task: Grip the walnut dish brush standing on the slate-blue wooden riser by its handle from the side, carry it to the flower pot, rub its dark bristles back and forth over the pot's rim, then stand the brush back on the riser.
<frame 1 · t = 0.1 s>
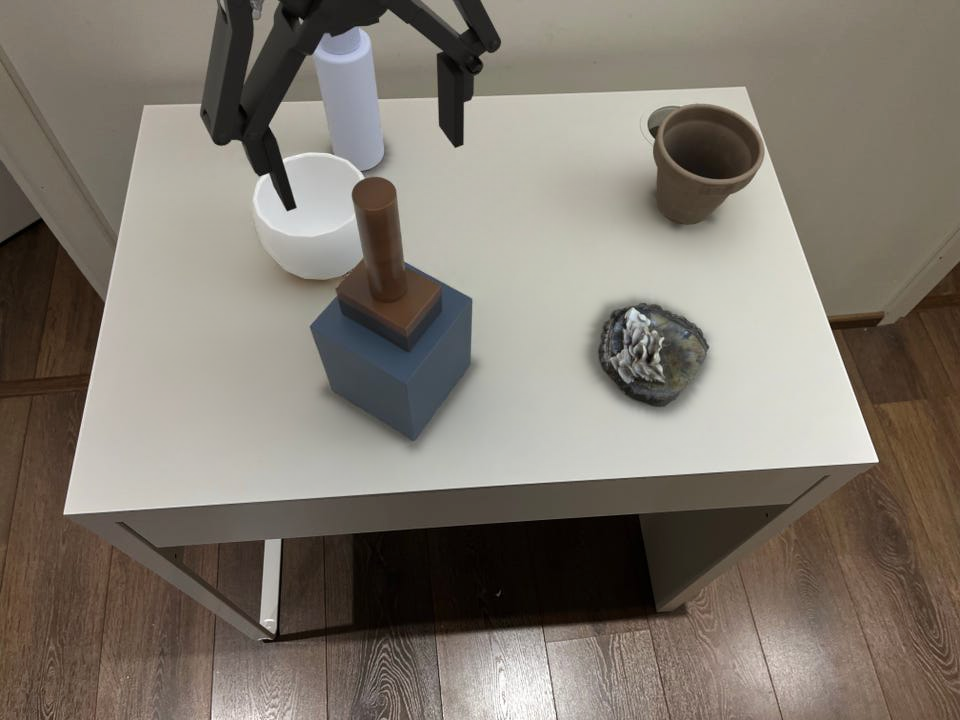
hand: (370, 165, 52), 23 cm above the table, tool pointing down, fingers open, 13 cm apart
flower pot: (684, 206, 82), on the table
cup: (326, 254, 78), on the table
riser: (402, 377, 70), on the table
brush: (392, 312, 60), point 12 cm above the table, touching riser
grey rough lump: (651, 355, 72), on the table
spray bottle: (359, 155, 85), on the table
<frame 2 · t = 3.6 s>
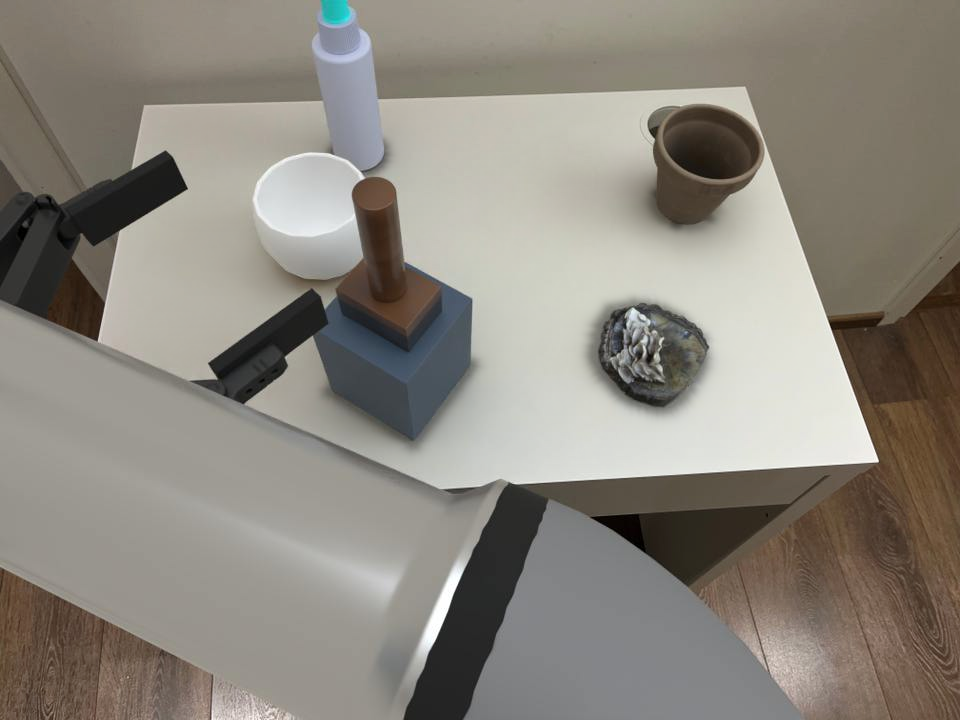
hand: (245, 234, 40), 30 cm above the table, tool horizontal, fingers open, 13 cm apart
nothing on the table moved.
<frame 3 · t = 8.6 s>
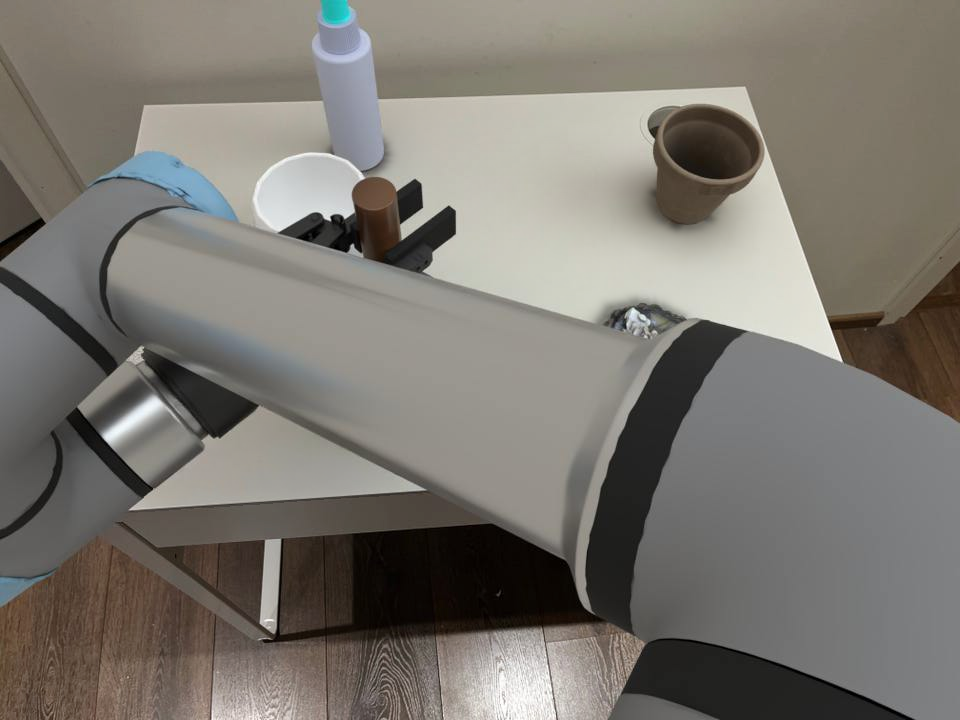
hand: (435, 206, 54), 21 cm above the table, tool horizontal, fingers closed on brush, 3 cm apart
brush: (392, 312, 60), point 12 cm above the table, touching gripper, riser
everything else where it was.
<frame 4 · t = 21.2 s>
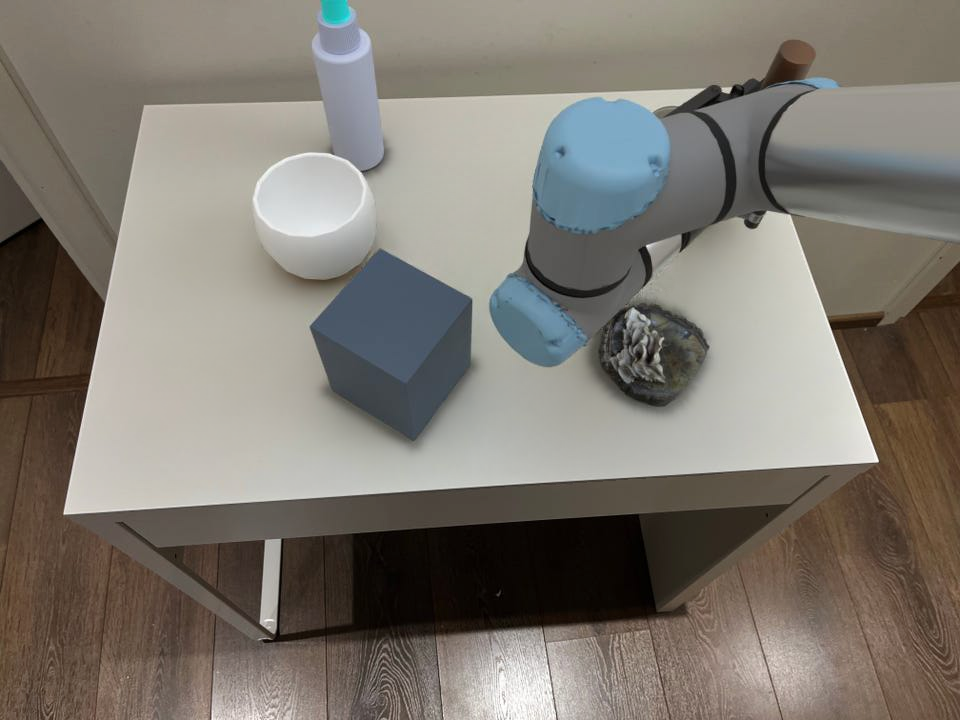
hand: (799, 84, 65), 19 cm above the table, tool horizontal, fingers closed on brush, 3 cm apart
flower pot: (685, 203, 82), on the table, touching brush
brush: (734, 175, 70), point 11 cm above the table, touching flower pot, gripper
everything else where it was.
when the fingers open (20 cm above the table, at t = 33.1 s): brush stays where it is, resting on riser.
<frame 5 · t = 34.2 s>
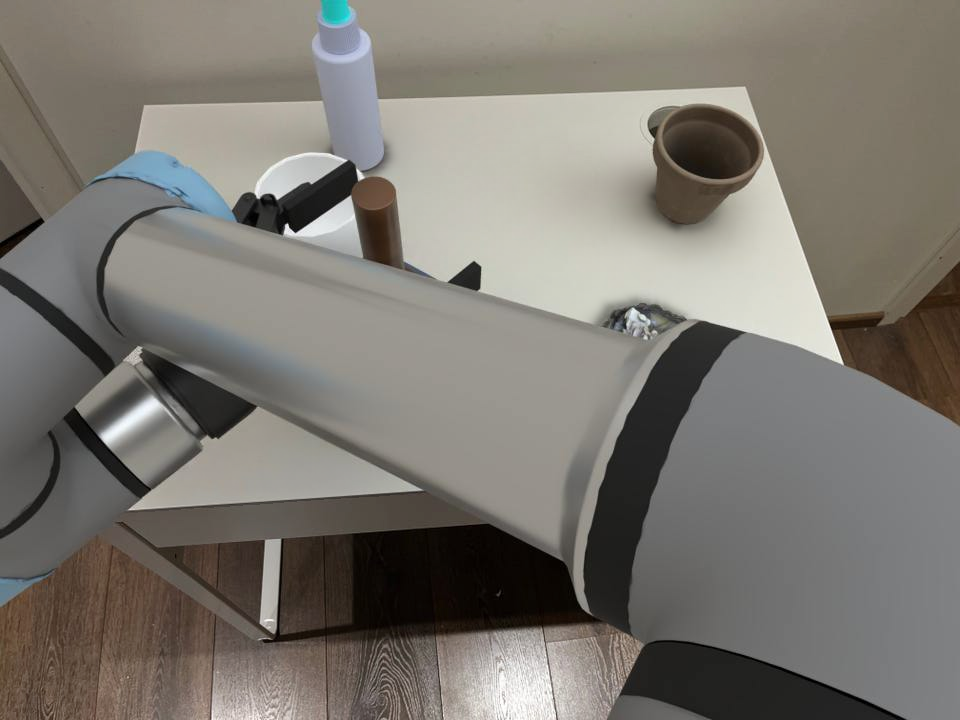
hand: (413, 222, 53), 21 cm above the table, tool horizontal, fingers open, 13 cm apart
flower pot: (683, 206, 82), on the table
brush: (391, 311, 60), point 12 cm above the table, touching riser
everything else where it was.
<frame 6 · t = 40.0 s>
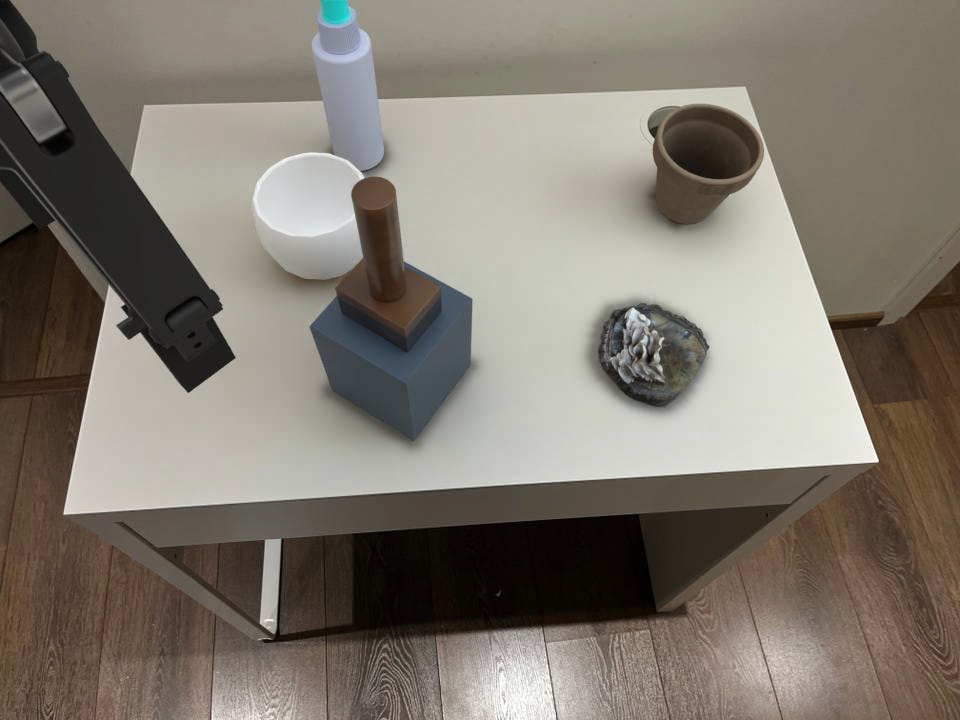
hand: (129, 287, 35), 33 cm above the table, tool pointing down, fingers open, 13 cm apart
nothing on the table moved.
at the end: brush inside the target area on the riser (0.0 cm from its centre), point 12.0 cm above the riser's base; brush tilted 0°; flower pot moved 0.2 cm from its start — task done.
